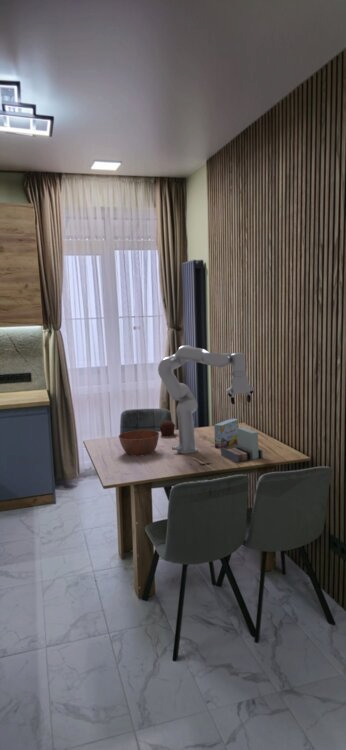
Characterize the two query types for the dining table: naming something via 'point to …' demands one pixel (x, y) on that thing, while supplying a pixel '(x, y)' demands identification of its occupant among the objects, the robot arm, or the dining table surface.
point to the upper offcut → (238, 452)
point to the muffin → (167, 428)
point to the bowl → (139, 442)
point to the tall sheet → (248, 441)
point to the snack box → (226, 433)
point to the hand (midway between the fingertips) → (241, 403)
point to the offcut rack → (235, 456)
